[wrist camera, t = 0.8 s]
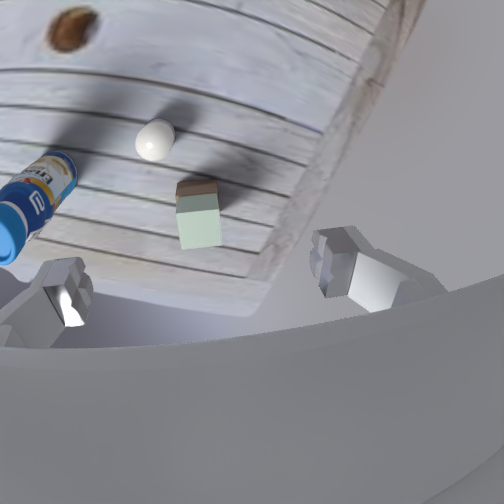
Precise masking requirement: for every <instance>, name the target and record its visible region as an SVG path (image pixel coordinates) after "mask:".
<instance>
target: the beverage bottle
mask: <svg viewBox="0 0 504 504" xmlns="http://www.w3.org/2000/svg"><path fill="white" fill-rule="evenodd" d="M76 181H77V170H76V167H75V164H74V162H73V161H72V159H71V158H70V157H69V156H68V155H66V154H65V153H63V152H60V151H50V152H48V153H46V154H44V155H43V156H41V157H40V158H39V159H38V160H36V161H35V162H34V163H32V164H31V165H30V166H28V167H27V168H26V169H24V170H23V171H22V172H21V173H18V174H17V175H15V176H14V177H13V178H12V179H11V180H10V181H9V182H8V184H6V185H5V186H4V187H2V189H1V190H0V265H8V264H10V263H12V262H13V261H14V260H15V259H16V257H17V256H18V254H19V253H20V251H21V250H22V248H23V247H24V245H25V242H28V241H30V240H32V239H34V238H35V237H36V236H38V235H39V234H40V232H41V231H42V229H43V228H44V227H45V226H46V225H47V224H48V223H49V221H50V220H51V218H52V216H53V214H54V212H55V211H56V209H57V208H58V207H59V205H60V204H61V203H62V201H63V200H64V199H65V198H66V197H67V196H68V195H69V194H70V193H71V192H72V190H73V189H74V187H75V185H76Z"/></svg>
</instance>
